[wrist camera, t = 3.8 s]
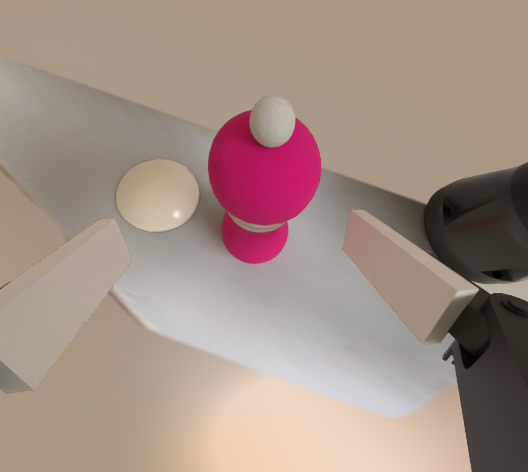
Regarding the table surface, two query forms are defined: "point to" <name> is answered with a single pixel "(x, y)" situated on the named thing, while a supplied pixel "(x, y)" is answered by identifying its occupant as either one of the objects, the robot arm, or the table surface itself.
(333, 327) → the table surface
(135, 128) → the table surface
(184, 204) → the cream dome
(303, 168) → the pepper mill
